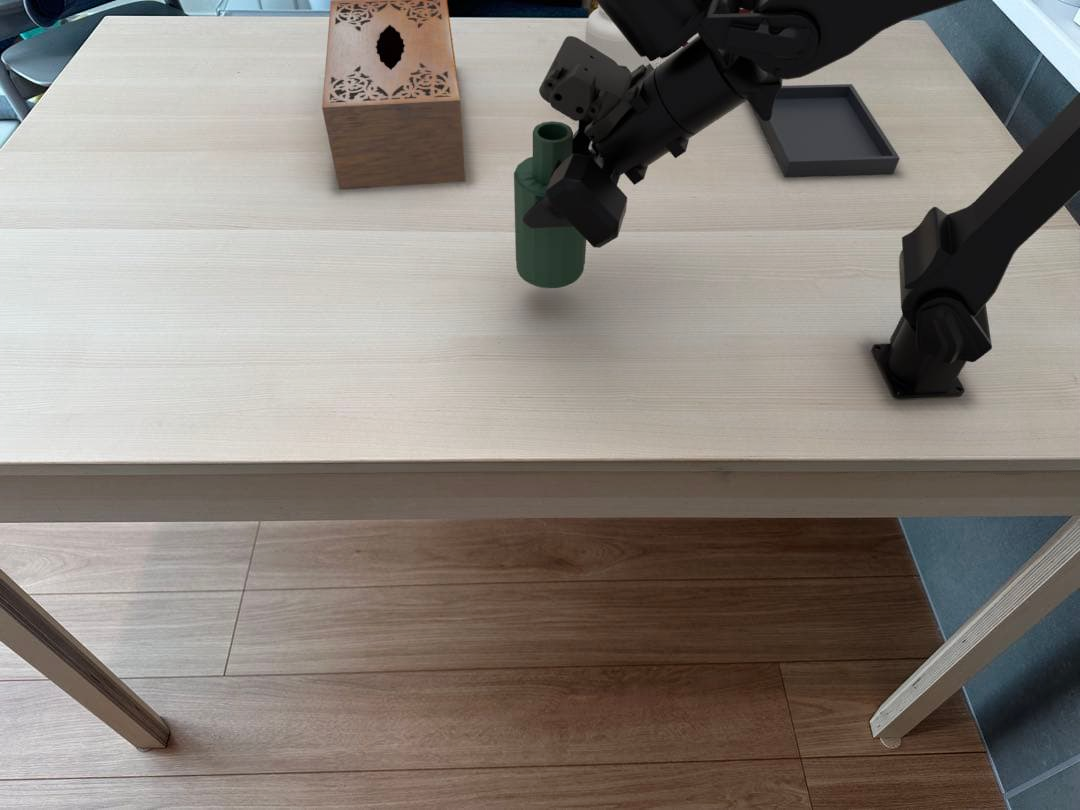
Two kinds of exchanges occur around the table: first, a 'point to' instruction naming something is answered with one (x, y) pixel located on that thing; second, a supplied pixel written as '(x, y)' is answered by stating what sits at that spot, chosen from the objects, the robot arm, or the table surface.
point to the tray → (826, 133)
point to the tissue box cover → (392, 94)
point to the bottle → (555, 249)
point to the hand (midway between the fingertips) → (536, 200)
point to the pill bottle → (611, 41)
